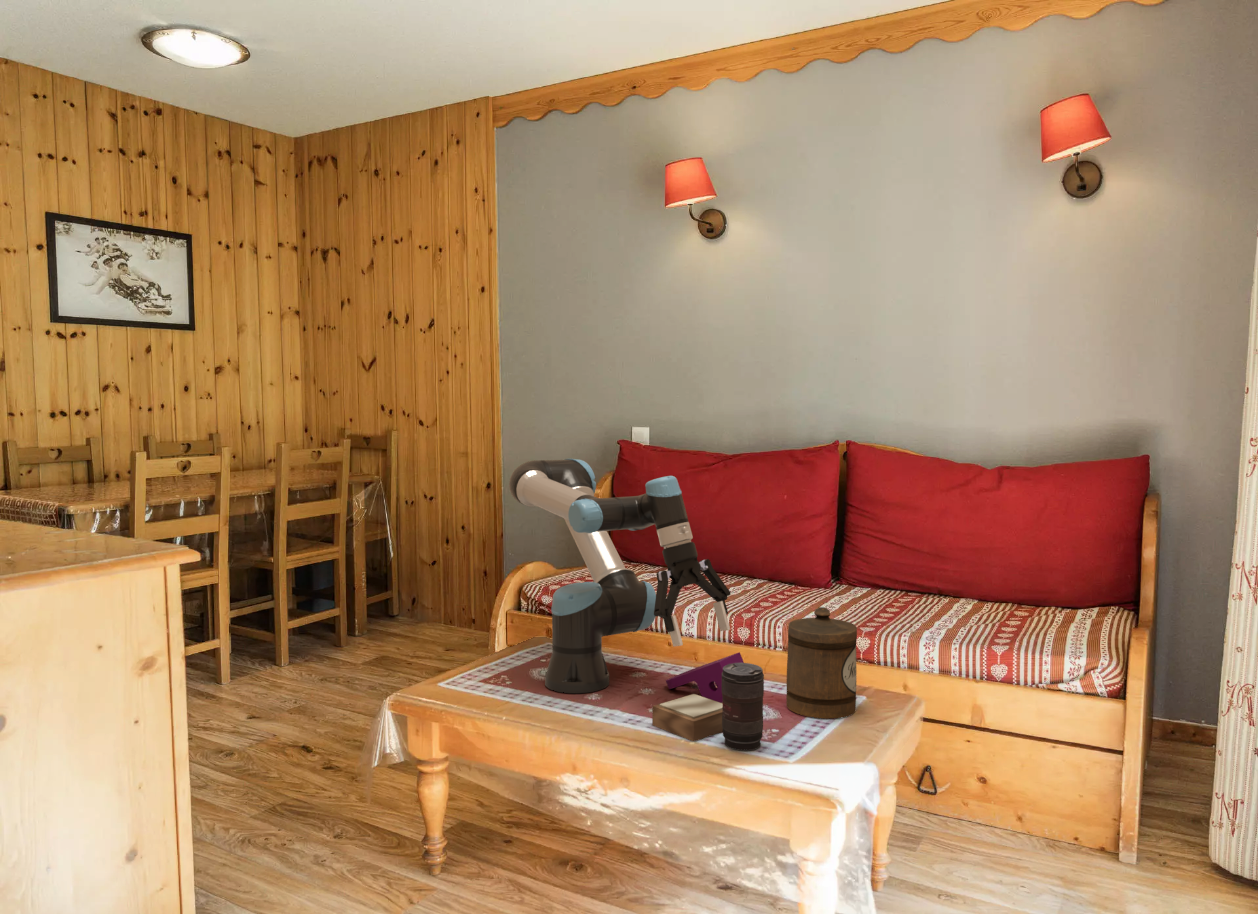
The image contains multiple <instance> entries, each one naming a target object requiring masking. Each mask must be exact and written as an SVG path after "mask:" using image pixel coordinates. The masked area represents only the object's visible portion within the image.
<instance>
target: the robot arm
mask: <svg viewBox="0 0 1258 914" xmlns="http://www.w3.org/2000/svg"><path fill="white" fill-rule="evenodd" d="M595 479H596V476H595V473H594V470H593V469H592V467H591V466H590V464H589V463H588V462H586V461H584V460H583V459H579V458H578V459H575V458H565V459H551V460H550V459H543V460H542V459H541V460H538V459H535V460H529V461H526V462H523V463H522V464H520V465H518V466H517V467H516V468H515V469H514V470H513V472H512V473H511V475H510V478H509V481H508V482H509V483H508V485H509V486H508V487H509V491H510V494H511V496H512V497H513V499H514V500H515V501H516V502H518V503H520V504H522V505H524V506H526V507H529V508H535V507H538V508H540V509H542V510H544V511H547V512H549V513H552V514H553V515H556V516H558V517H560V518H563V519H564V521H565V524H566V526H567V528H568V529H569V532H570V534H571V536H572V538H573V541H574V543H575V544H576V546H577V549H578V551H579V553H580V556H581V557H582V559H583V561H584V563H585V566H586V567H587V570H588V572H589V574H590V576H591V578H592V581H584V582H579V581H578V582H573V583H569V584H566V585H563V586H561V587H559V588H557V589H556V590H555V592H554V593H553V594H552V603H551V609H550V610H551V618H552V619H551V625H552V630H551V632H552V635H551V637H552V638H551V639H552V640H551V641H552V643H551V644H552V652H551V656H550V660H549V662H548V666H547V671H546V673H545V676H544V677H545V678H544V680H545V681H544V684H545V685H544V686H545V687H546V688H547V689H549V690H551V691H553V690H554V691H555V692H557V693H563V692H564V693H563V694H586V693H593V692H598V691H601V690H604V689H605V688H607V687H608V686H609V685H610V672H609V670H608V666H607V663H606V660H605V658H604V657H605V656H604V655H603V650H602V644H603V643H602V642H603V641H602V640H603V639H602V637H608V636H609V637H610V636H614V635H619V634H620V635H621V634H626V633H636V632H638V631H643V630H645V629H649V628H650V627H651V625H653V623H654V621H655V618H656V617H660V619H663V622H664V627H665V630H666V632H667V633H669V635H670V639H671V642H672V643H671V644H672V646H673V647H680V646H684V645H683V640H682V635H681V631H680V627H679V623H678V620H677V615H673V612H674V609H675V606H676V603H677V600H678V597H679V594H680V592H681V590H682V589H683V587H687V586H690V585H694V584H695V585H697V587H699V588H700V589H701V590H703V592H705V593H706V594H707V595H708V596H709V597H710V598H712V599H713V600H714V601H715V602H712V605H713V609H714V612H715V617H716V620H717V624H718V628H719V631H720V632H726V631H730V630H731V627H730V623H729V621H728V620H729V619H728V614H729V613H728V611H729V610H728V608H727V604H726V601H727V600H728V597H729V596H730V595H731V591H730V590H729V588H728V586H727V585H726V584H725V582H723V579H721V577H720V575H718V573H717V572H716V571H715V569H714V568H713V565H712V562H711V560H710V559H709V558H708V559H707V558H706V559H703V560H700V561H698V550H697V548H696V544H695V542H694V541H692V539H693V538H694V537H693V532H692V529H691V525H690V522H689V517H688V513H687V509H686V505H685V501H684V499H683V494H682V493H683V492H682V489H681V488H680V484H679V482H678V478H677V477H675V476H673V475H667V476H666V475H665V476H662V477H658V478H654V479H651V480H648V481H647V482H646V483H645V493H644V494H640V495H634V496H619V497H618V496H617V497H601V498H600V497H597V496H595V494H596V493H595V492H596V490H597V482H596V481H595ZM653 525H654V526H655V529H656V534H657V536H658V542H659V545H660V547H662V548H663V549H662V551H661V552H662V556H663V560H664V564H665V565H666V566H667V570H661V571H660V570H659V571H658V572H656V579H657V587H656V591H655V588H654V586H653V585H652V584H651V583H650V582H647V581H645V580H642V581H639V578H638V577H637V575H636V573H635V572H634V570H632V569H630V568H626V567H625V565H624V563H623V561H622V559H621V557H620V555H619V553H618V551H617V549H616V547H615V545H614V543H613V541H612V539H611V536H610V535H609V531H611V532H612V531H620V530H621V531H622V530H623V531H624V530H629V531H633V532H634V531H639V530H641V531H642V530H645V529H647V528H649V527H651V526H653ZM701 571H702V573H703V574H702V573H701ZM669 579H671V582H670V584H669ZM707 579H708V580H707ZM668 588H669V589H668ZM668 590H669V591H668Z"/></svg>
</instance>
